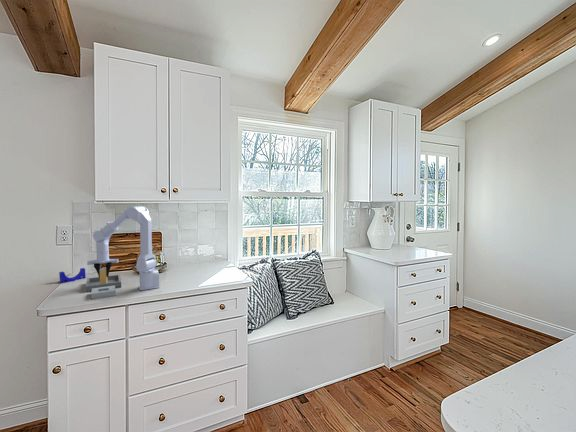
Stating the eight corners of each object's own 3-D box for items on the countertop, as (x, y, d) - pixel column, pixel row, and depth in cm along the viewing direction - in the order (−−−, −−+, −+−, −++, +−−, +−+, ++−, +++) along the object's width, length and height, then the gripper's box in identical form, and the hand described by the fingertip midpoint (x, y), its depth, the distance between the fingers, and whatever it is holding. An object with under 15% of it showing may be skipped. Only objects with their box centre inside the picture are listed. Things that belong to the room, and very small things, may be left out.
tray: (120, 279, 177) (119, 274, 177) (121, 287, 161) (121, 281, 161) (87, 283, 169) (87, 278, 168) (85, 292, 153) (85, 286, 153)
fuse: (107, 282, 166) (106, 267, 166) (106, 283, 163) (105, 269, 163) (101, 282, 165) (100, 268, 165) (100, 284, 162) (99, 269, 162)
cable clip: (62, 283, 169) (62, 273, 169) (59, 282, 172) (59, 272, 171) (86, 278, 179) (86, 268, 179) (83, 277, 182) (83, 267, 181)
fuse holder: (115, 290, 156) (114, 285, 156) (115, 295, 148) (115, 290, 148) (92, 293, 151) (92, 288, 151) (91, 299, 143) (91, 294, 143)
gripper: (85, 254, 157) (86, 279, 158) (116, 252, 163) (117, 277, 163) (88, 252, 164) (89, 276, 165) (118, 250, 169) (119, 274, 170)
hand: (103, 276), depth 165 cm, fingers closed on fuse, 3 cm apart
